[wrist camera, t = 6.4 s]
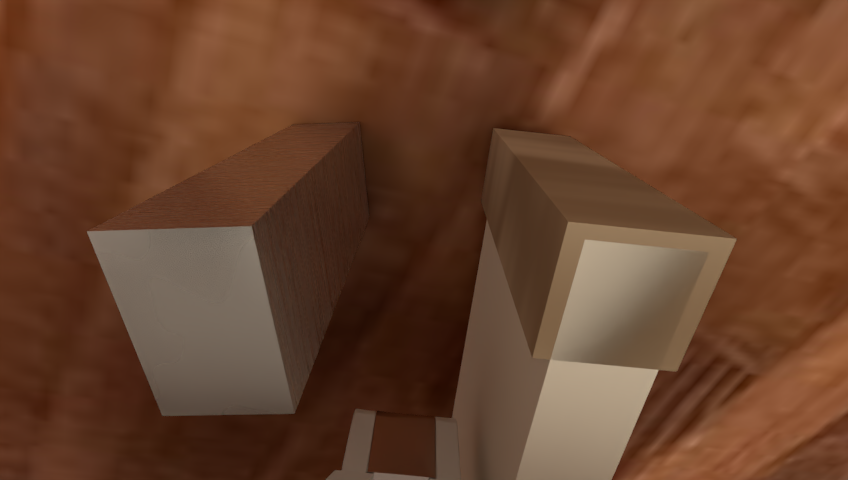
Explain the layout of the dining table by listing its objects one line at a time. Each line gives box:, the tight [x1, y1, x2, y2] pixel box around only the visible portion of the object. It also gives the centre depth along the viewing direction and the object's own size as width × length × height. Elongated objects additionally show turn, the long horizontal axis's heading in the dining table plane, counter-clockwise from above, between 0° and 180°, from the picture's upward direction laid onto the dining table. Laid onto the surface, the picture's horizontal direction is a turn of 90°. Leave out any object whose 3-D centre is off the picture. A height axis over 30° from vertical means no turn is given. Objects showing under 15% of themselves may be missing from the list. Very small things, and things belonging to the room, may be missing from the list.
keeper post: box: [87, 122, 369, 416], centre depth 9 cm, size 3×2×8 cm, turn 2°
